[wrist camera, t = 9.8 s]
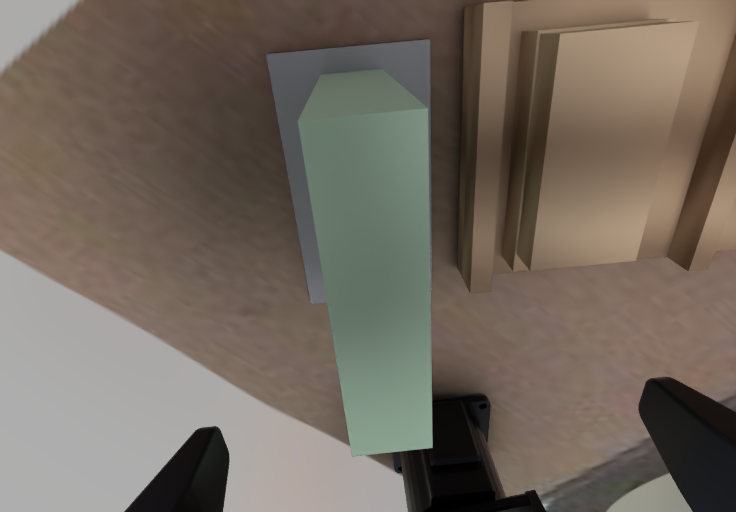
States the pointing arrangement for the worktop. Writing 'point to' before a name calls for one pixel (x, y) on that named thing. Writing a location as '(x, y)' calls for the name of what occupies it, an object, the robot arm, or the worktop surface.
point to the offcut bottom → (522, 130)
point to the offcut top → (599, 140)
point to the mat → (291, 93)
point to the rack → (683, 151)
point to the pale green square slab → (374, 251)
